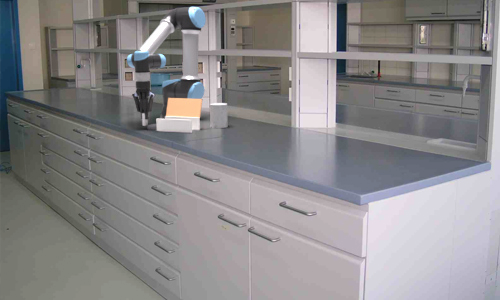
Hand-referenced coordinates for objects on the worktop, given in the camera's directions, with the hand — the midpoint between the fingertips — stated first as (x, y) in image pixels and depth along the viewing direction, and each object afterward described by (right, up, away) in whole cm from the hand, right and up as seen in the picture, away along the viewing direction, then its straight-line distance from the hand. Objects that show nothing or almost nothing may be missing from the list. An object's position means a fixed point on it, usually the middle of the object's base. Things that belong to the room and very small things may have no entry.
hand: (145, 125), depth 292 cm
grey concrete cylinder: (+39, -1, +5) cm, 39 cm away
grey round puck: (+5, -2, -1) cm, 5 cm away
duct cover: (+21, +9, -3) cm, 23 cm away
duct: (+19, -3, -7) cm, 20 cm away
